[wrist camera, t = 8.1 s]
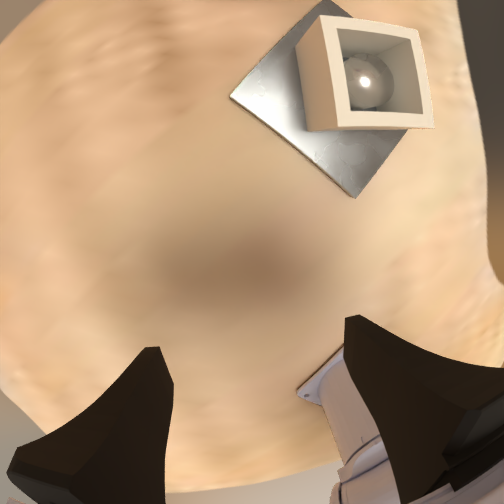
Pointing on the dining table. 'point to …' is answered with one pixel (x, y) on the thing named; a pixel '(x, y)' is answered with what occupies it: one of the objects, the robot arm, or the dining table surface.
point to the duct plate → (293, 112)
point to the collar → (334, 80)
